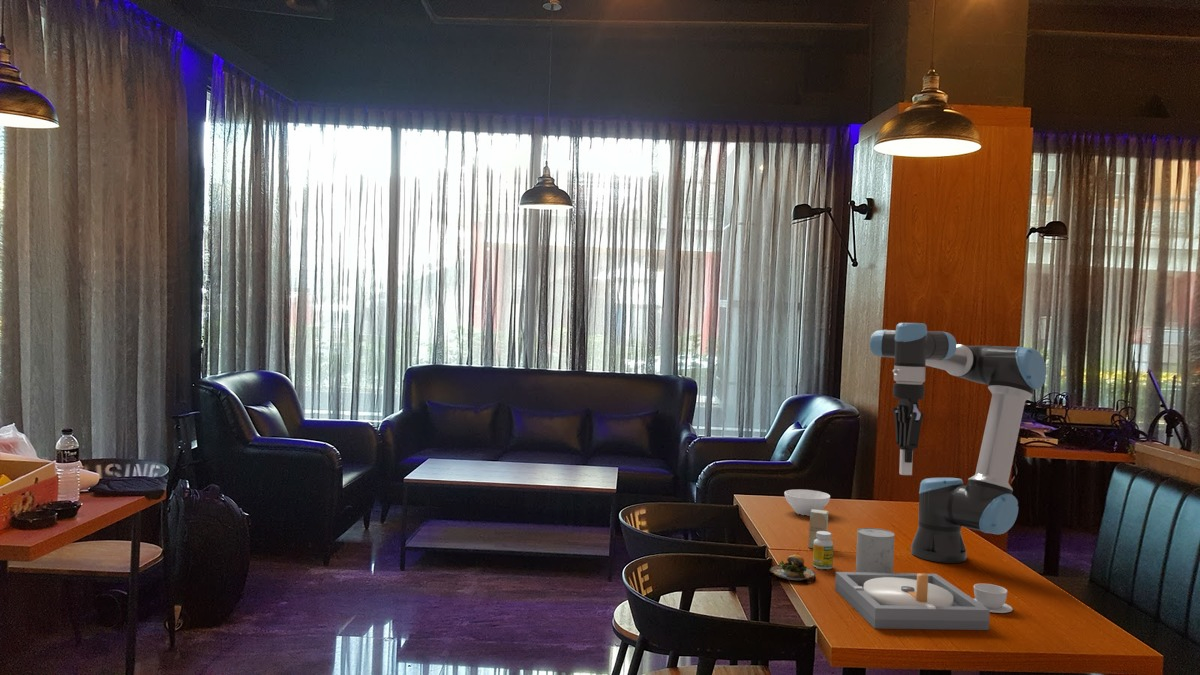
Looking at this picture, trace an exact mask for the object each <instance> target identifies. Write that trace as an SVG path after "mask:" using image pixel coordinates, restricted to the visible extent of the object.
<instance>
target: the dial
mask: <svg viewBox="0 0 1200 675" xmlns="http://www.w3.org/2000/svg"><path fill="white" fill-rule="evenodd" d="M917 573H918V574H917V580H913V579H907V578H896V577H882V578H874V579H870V580H868V581H866V582H865V583H864V591H865V592H866V593H867V594H869V595H870V596H871V597H872V598H873V599H874V600H875V601H876V602H878V603H879V604H880V605H897V606H926V604H932V605H933V606H953V595H952V594H951V593H950V592H949V591H948V590H946V589H944V588H942V587H939V586H937V585H934V584H931V583H928V575H927V574H928V573H927V574H923V573H924V572H917Z"/></svg>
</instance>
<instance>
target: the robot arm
mask: <svg viewBox="0 0 1200 675" xmlns="http://www.w3.org/2000/svg"><path fill="white" fill-rule="evenodd" d="M870 336H871V337H870V340H869V349H870V352H871V353H872V355H874V356H876V357H881V358H891V359H894V363H893V366H894V367H893V369H892V373H893V381H895V383H893V386H892V387H893V388H892V396H893V398H896V399H898V402H897V406H894V407H893V408H892V412H893V415H894V428H895V429H894V430H895V443H896V445H898V448H900V449H899V470H898V471H899V472H898V473H899V475H901V476H913V457H914V454H913V453H914V450H915V449H918V447H919V441H920V440H919V439H920V433H921V427H922V421H923V418H924V416H925V414H924V412H920V410H919V409H920V406H919V400H923V399H924V398H925V391H926V390H925V388H926V386H925V385H924V384H923V383H925V382H926V367H931V368H935V369H939V370H943V371H946V372H947V374H949V375H951V376H954V377H957V378H960V379H965V380H967V381H969V382H974V383H977V384H982V385H988V386H987V389H988V390H989V391H990V393H991V399H990V402H989V403H990V405H989V409H988V413H987V418H986V422H985V427H984V432H983V436H982V441H981V446H980V450H979V456H978V460H977V464H976V469H975V474H974V475H972V476H971V477H968V479H967V483H966V485H964V480H963V479H962V478H956V477H929V478H924V479H922V480H921V482H920V483H919V492H918V495H919V497H918V499H919V500H918V524H917V525H918V526H917V529H916V532H915V535H914V536H913V540H912V542H911V545H910V546H911V547H910V548H911V549H910V553H911V555H913V556H915V557H917V558H919V559H923V560H926V561H930V562H935V563H936V562H937V563H944V564H945V563H946V564H956V563H957V564H958V563H963V562H966V560H967V548H966V546H965V543H964V538H963V536H962V531H961V530H962V527H963V528H966V529H971V530H974V531H978V532H982V533H984V534H993V535H1002V534H1005V533H1007V532H1008V531H1009V530H1010V529H1011V528H1012V527H1013V526H1014V524H1015V522H1016V520H1017V519H1018V518H1017V517H1018V514H1019V501H1018V498H1016V496H1014V495H1013V491H1014V490H1013V487H1012V486H1011V485H1010V483H1009V480H1010V475H1011V471H1012V466H1013V462H1014V456H1015V452H1016V447H1017V442H1018V437H1019V433H1020V426H1021V423H1022V417H1023V413H1024V409H1025V404H1026V401H1027V400H1030V399H1031V398H1032V397H1033V394H1034V390H1038V389H1041V388H1042V387H1043V385H1044V384H1045V382H1046V378H1047V367H1046V364H1045V363H1046V362H1045V361H1044V357H1043V355H1042V354H1041V353H1040V351H1038V350H1037V349H1036V348H1033V347H1026V346H1021V345H1019V346H1008V345H1007V346H1005V345H1003V346H1001V345H964V344H961V343H960V344H959V343H958V344H957V341H956V338H955V337H954V335H953V334H951V333H949V332H946V331H942V330H941V331H940V330H937V331H935V330H934V331H933V330H930V331H929V330H928V326H927V324H926V323H922V322H921V323H920V322H898V324H896V326H895V330H893V329H886V328H885V329H880V330H876V331H874V332H873V333H872V334H871V335H870Z"/></svg>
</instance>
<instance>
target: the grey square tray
mask: <svg viewBox="0 0 1200 675" xmlns="http://www.w3.org/2000/svg"><path fill="white" fill-rule="evenodd" d="M918 573H919V572H917V573H916V572H915V573H913V572H893V573H870V572H856V571H854V572H853V571H835V580H834V581H835V582H834V590H835V591H836V592H837V593H838V594H839V595H840V596H841V597H842V598H843V600H845V601H846V602H847V603H848V604H849V605H850V606H851V607H852V608H853V609H854V610H855V611H856V612H857V613H858V614H859V615H860V616H861V617H862V618H863V619H864V620H866V622H867V623H868V624H869V625H870V626H871V627H872V628H874V629H884V630H885V629H886V630H887V629H889V630H890V629H892V630H894V629H896V630H897V629H899V630H952V631H953V630H957V631H959V630H961V631H964V630H965V631H966V630H968V631H990V614H991V612H990V610H989V609H987V608H986V607H984V606H983V605H982V604H980V603H979V602H977V601H976V600H974V598H973V597H971V596H970V595H969V594H967V593H965V592H964V591H962V590H961V589H959V588H958V587H957V586H955V585H953V584H952V583H951V582H949V581H948V580H946V579H944V578H943V577H942V576H940V575H939V574H938V573H928V572H927V573H924V572H922V573H923V574H927V575H928V583H931V584H934V585H937V586H939V587H942V588H944V589H946V590H948V591H949V592H950V593H951V594H952V595H953V606H933V605H932V604H926V606H897V605H880V604H879V603H878V602H876V601H875V600H874V599H873V598H872V597H871V596H870V595H869V594H867V593H866V592H865V591H864V583H865V582H866V581H868V580H870V579H874V578H882V577H896V578H907V579H913V580H917V574H918Z"/></svg>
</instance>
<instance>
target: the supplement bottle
mask: <svg viewBox="0 0 1200 675" xmlns="http://www.w3.org/2000/svg"><path fill="white" fill-rule="evenodd" d="M816 537H817V539H815V540H814V545H813V548H812V549H813V552H812V553H813V554H812V565H813V567H814V568H815V567H816V569H819V570H823V569H827V570H831V569H833V566H834V564H833V563H834V542H833V540H831V539H832V533H831V532H829V531H827V532H826V531H818V532H816Z"/></svg>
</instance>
